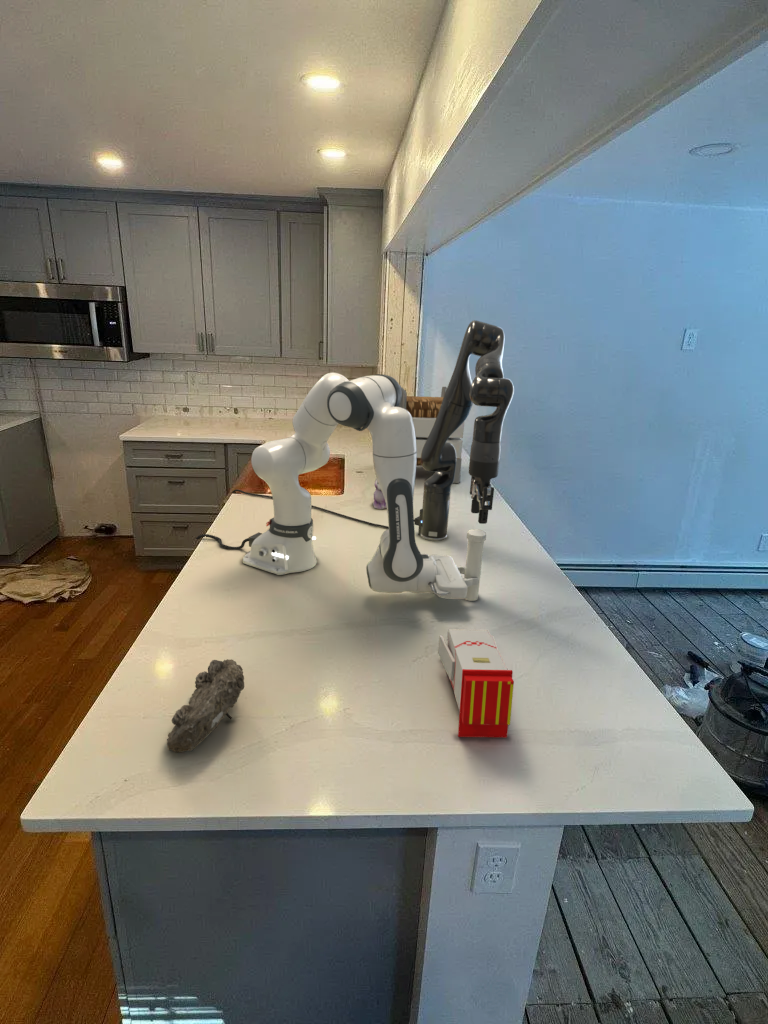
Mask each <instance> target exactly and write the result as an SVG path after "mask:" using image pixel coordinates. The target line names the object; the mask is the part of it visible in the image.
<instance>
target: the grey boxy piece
mask: <svg viewBox="0 0 768 1024" xmlns="http://www.w3.org/2000/svg"><path fill="white" fill-rule="evenodd" d="M399 386H400V388H401V393H402V398H401V402H400V404H399V406H398V407H401V408H403V409H406V410H407V411H408V412H409V413H410V414H411V416H412V419H413V424H414V429H415V436H416V447H417V463H416V467H417V466H418V467H422V465H421V453H422V449H423V447H424V445H425V442H426V440H427V438H428V436H429V434H430V432H431V430H432V428H433V426H434V423H435V420H436V418H437V415H438V413H439V410H440V407H441V403H442V400H443V398H444V395H445V392H446V390H447V387H448V386H442V387H441V392H440V393H441V394H440V396H415V395H414V396H413V395H412V396H411V395H407V394H408V393H407V390H406V389H404V388H403V387H402V385H400V384H399ZM464 429H465V421H464V422H463V423H462V424H461V425H460V426H459V427H458V428H457V429H456V430H455V431H454V432H453V433H452V434H451V435H450V437H449V438H448V439H447V441H446V443H450V444H452V445H453V446H454V448H455V450H456V468H455V475H454V481H453V484H455V483H456V484H459V483H461V472H462V461H463V460H462V453H463V442H464V441H463V440H462V439H463V438H464V431H465V430H464Z"/></svg>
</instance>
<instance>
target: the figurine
mask: <svg viewBox="0 0 768 1024" xmlns="http://www.w3.org/2000/svg"><path fill="white" fill-rule="evenodd" d="M373 484H374V488H375V490H374V492H373V502H372V506H373V508H374V509H378V510H384V509H387V506H386V502H385V499H384V496H383V493H382V491H381V488H380V486H379V483H378V480H377V478H376V479H375V481H374V483H373Z"/></svg>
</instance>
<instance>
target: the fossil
mask: <svg viewBox="0 0 768 1024" xmlns="http://www.w3.org/2000/svg"><path fill="white" fill-rule="evenodd" d="M243 670H244V669H243V667H242V665H240V664H237V662H236V661H235V660H234V659H232V658H231V659H227V658H226V659H224V660H223V661H222V660H217V659H212V660H211V661H210V663H209V665H208V666H207V671H201V672H199V673H198V674H197V675H196V676H195V680H194V684H195V685H194V687H195V689H194V690H193V693H192V694H191V697H190V698H189V700H188V704H184V705H182V706H181V707H180V709H177V710H176V711H175V713H174V715H173V716H172V718H171V723H172V724H173V727H172V730H171V731H170V732H168V734H167V738H166V741H167V742H166V745H167V749H168V750H169V751H173V752H174V753H176V754H178V753H182V752H188V751H189V752H192V751H193V750H195V748H196V747H197V746H199V744H200V743H201V742H203V741H204V740H205V739H206V738H207V737H208V736H209V735H210V734H211V733H212V732H214V730H215V729H217V727H218V726H219V724H220V722H221V721H222V720H223V719H224V718H225V716H226V717H227V719H229V720H233V717H232V715H230V714H229V710H230V709H231V708H234V706H235V704H236V703H237V702H238V699H239V697H240V695H241V693H242V691H243V690H245V689H244V688H245V675H244V671H243Z"/></svg>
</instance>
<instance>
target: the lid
mask: <svg viewBox="0 0 768 1024" xmlns="http://www.w3.org/2000/svg"><path fill="white" fill-rule="evenodd" d="M466 539H467V541H468V540H469V541H472V542H484V543H485V541H486V540H487V531H485V530H483V529H478V528H472V529H468V530H467V532H466Z"/></svg>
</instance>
